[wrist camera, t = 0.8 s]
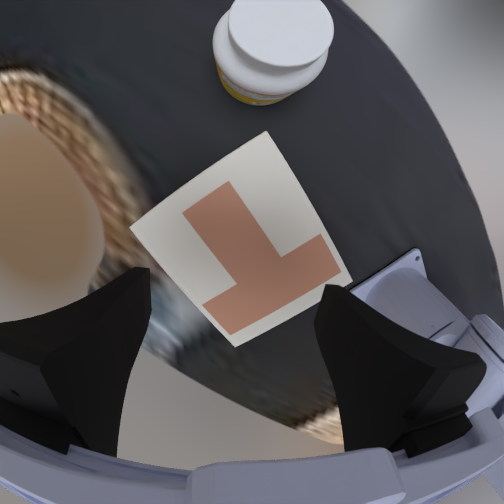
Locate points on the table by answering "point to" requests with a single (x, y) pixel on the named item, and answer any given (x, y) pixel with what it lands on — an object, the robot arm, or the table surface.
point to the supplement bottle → (271, 47)
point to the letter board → (244, 242)
